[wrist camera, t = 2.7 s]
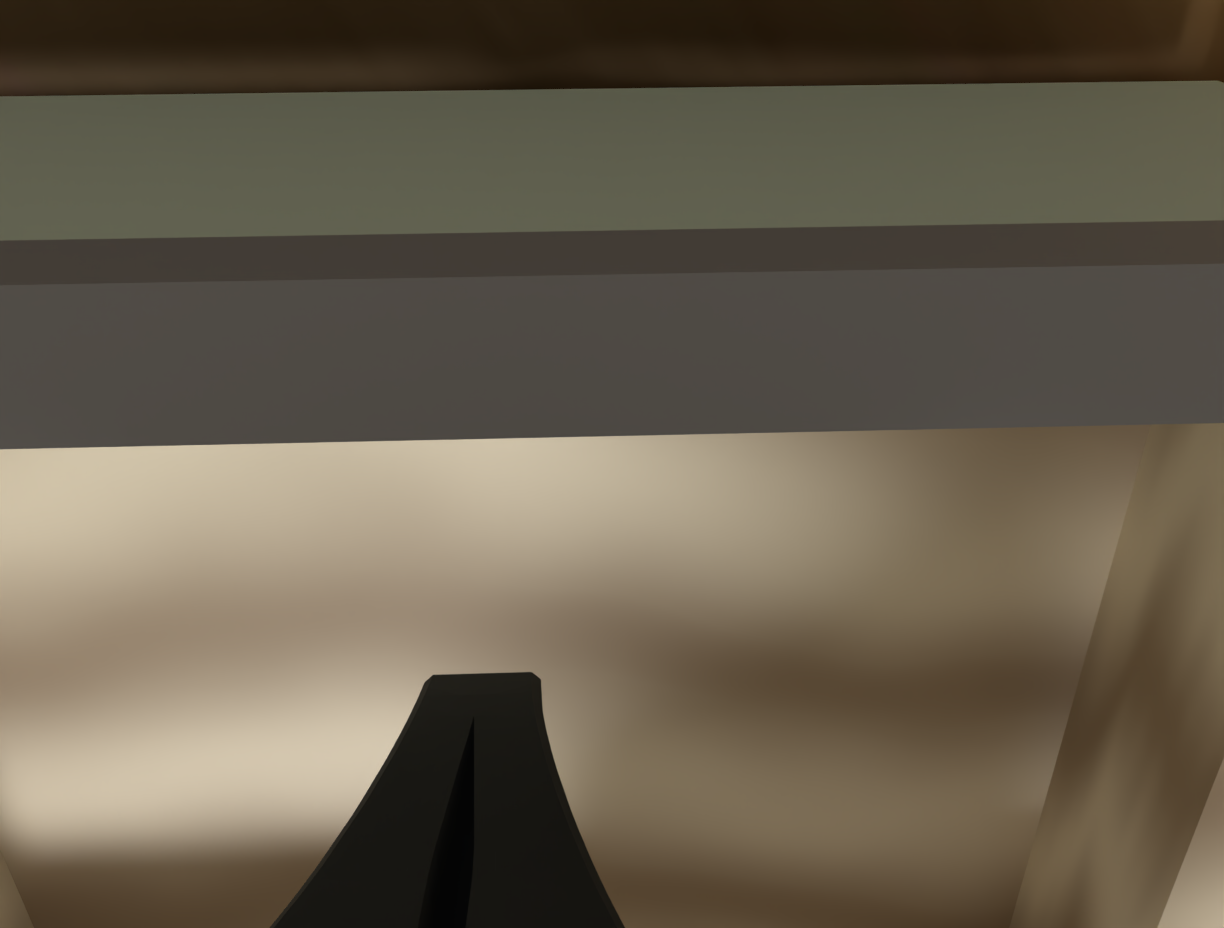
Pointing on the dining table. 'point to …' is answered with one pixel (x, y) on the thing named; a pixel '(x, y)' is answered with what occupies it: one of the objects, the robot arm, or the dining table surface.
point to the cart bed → (633, 667)
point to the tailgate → (608, 262)
